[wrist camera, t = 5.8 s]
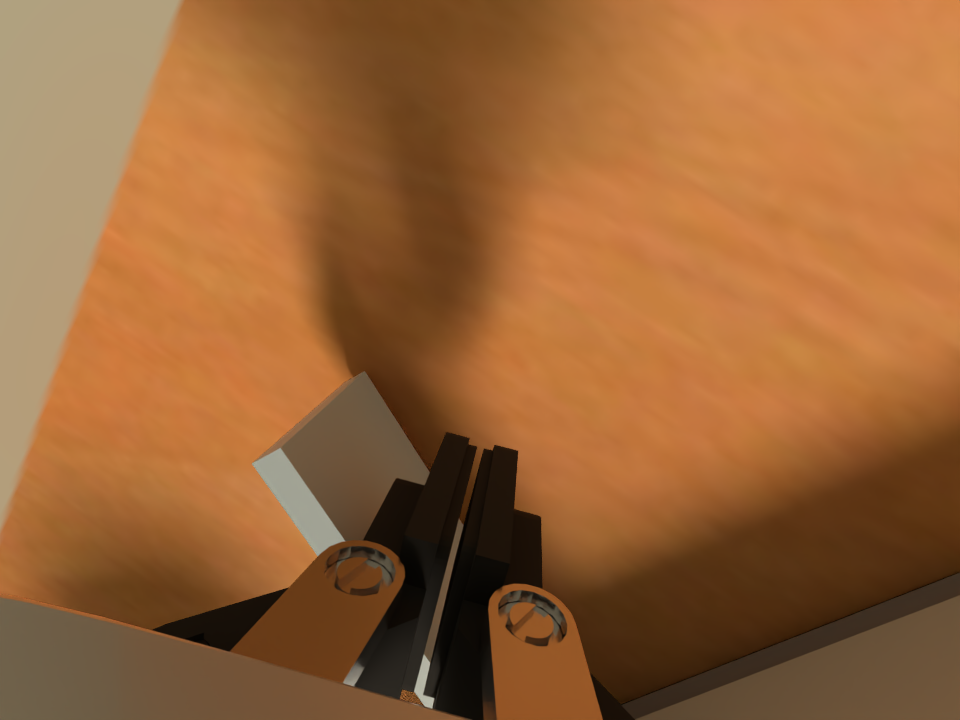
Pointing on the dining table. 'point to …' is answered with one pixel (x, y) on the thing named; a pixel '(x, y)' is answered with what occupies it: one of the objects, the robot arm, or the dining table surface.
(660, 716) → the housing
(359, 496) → the side door
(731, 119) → the dining table surface
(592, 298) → the dining table surface
